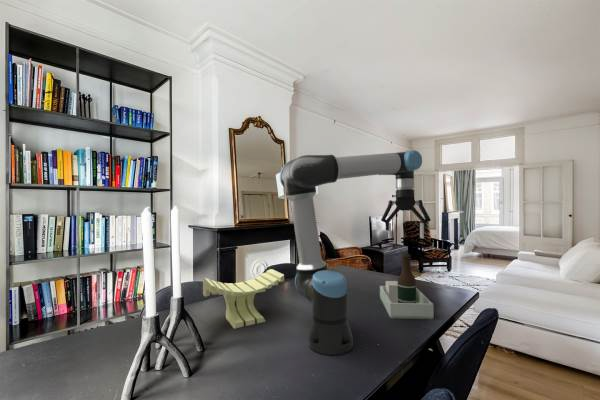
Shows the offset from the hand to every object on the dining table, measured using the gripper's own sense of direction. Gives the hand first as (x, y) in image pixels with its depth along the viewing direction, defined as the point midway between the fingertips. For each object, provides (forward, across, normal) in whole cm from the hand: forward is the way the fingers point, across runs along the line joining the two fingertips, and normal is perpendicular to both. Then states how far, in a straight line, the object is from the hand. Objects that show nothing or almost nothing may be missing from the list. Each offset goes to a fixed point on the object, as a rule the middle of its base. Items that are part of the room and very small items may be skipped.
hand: (405, 238), depth 127 cm
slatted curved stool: (+32, +69, +11) cm, 77 cm away
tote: (+32, 0, -6) cm, 32 cm away
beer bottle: (+31, 0, 0) cm, 31 cm away
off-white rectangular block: (+31, 0, -13) cm, 34 cm away
